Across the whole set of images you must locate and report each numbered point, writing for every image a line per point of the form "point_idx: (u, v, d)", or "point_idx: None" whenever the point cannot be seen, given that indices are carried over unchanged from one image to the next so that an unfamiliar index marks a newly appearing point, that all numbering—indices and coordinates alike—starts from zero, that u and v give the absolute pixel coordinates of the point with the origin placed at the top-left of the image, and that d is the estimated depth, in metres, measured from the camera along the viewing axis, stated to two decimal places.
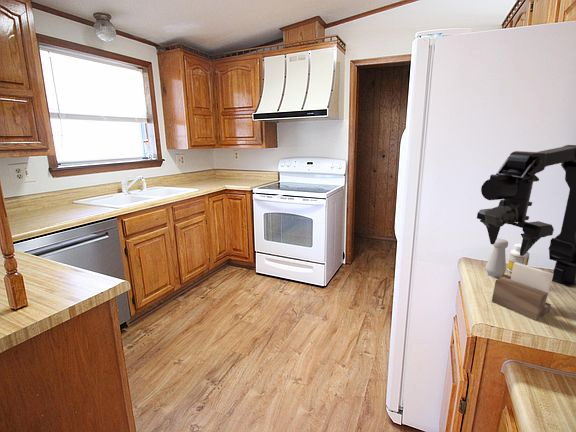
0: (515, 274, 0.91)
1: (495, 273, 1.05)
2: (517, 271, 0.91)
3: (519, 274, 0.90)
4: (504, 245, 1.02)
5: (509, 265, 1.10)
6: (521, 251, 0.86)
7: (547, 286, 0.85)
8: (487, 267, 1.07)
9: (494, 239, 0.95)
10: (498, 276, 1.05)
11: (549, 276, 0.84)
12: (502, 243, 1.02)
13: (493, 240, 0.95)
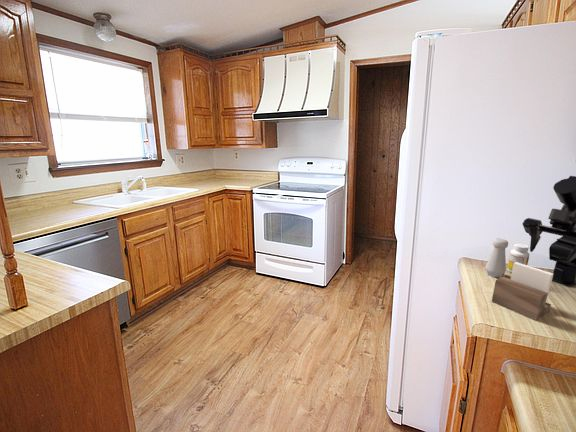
0: (515, 274, 0.91)
1: (495, 273, 1.05)
2: (517, 271, 0.91)
3: (519, 274, 0.90)
4: (504, 245, 1.02)
5: (509, 265, 1.10)
6: (570, 256, 0.88)
7: (547, 286, 0.85)
8: (487, 267, 1.07)
9: (533, 247, 0.96)
10: (498, 276, 1.05)
11: (549, 276, 0.84)
12: (502, 243, 1.02)
13: (533, 248, 0.96)
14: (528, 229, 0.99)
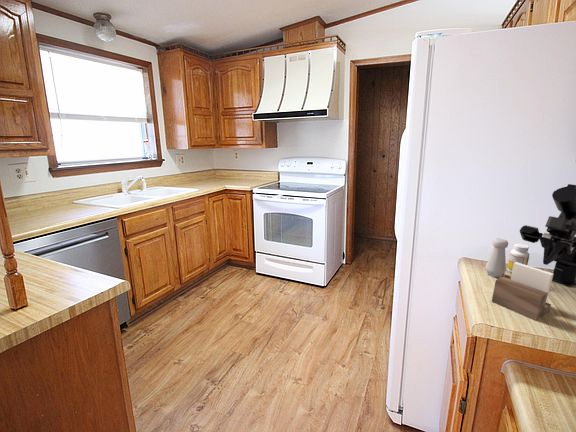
0: (515, 274, 0.91)
1: (495, 273, 1.05)
2: (517, 271, 0.91)
3: (519, 274, 0.90)
4: (504, 245, 1.02)
5: (509, 265, 1.10)
6: (548, 259, 0.92)
7: (547, 286, 0.85)
8: (487, 267, 1.07)
9: None
10: (498, 276, 1.05)
11: (549, 276, 0.84)
12: (502, 243, 1.02)
13: None
14: (541, 240, 0.95)
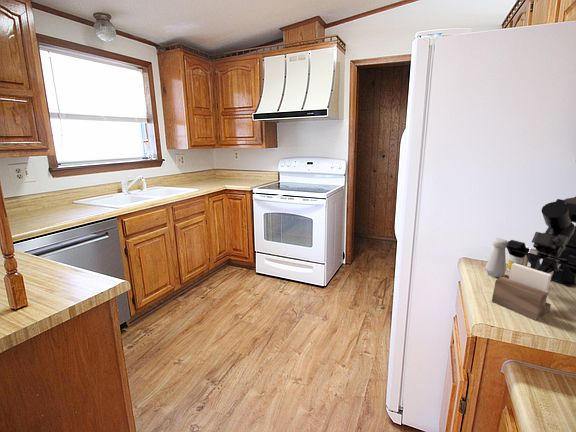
0: (513, 275, 0.91)
1: (495, 273, 1.05)
2: (515, 272, 0.90)
3: (517, 275, 0.90)
4: (504, 245, 1.02)
5: (509, 265, 1.10)
6: None
7: (545, 287, 0.84)
8: (487, 267, 1.07)
9: None
10: (498, 276, 1.05)
11: (547, 277, 0.84)
12: (502, 243, 1.02)
13: None
14: (528, 256, 0.92)
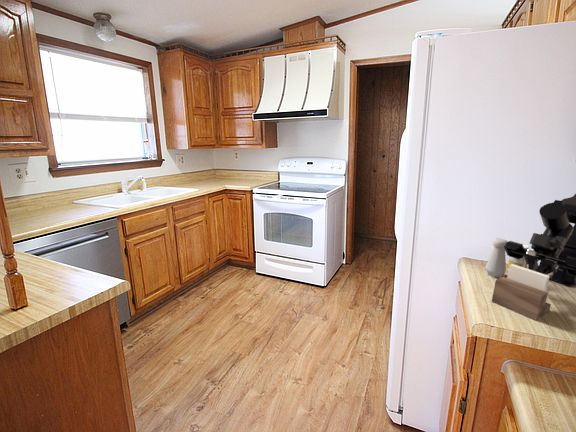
0: (511, 276, 0.90)
1: (495, 273, 1.05)
2: (513, 273, 0.89)
3: (515, 276, 0.89)
4: None
5: (509, 265, 1.10)
6: None
7: (543, 288, 0.84)
8: (487, 267, 1.07)
9: None
10: (498, 276, 1.05)
11: (545, 278, 0.83)
12: (502, 243, 1.02)
13: None
14: (525, 257, 0.92)
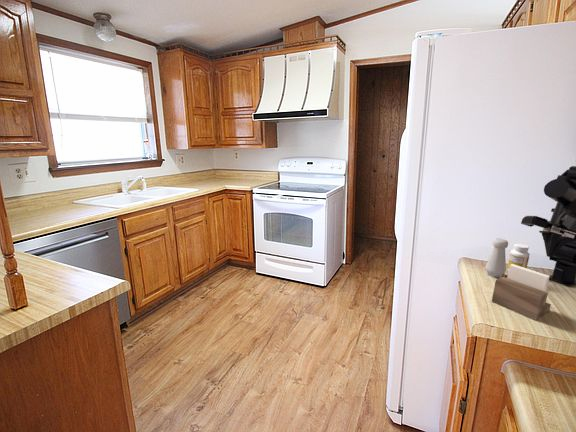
0: (511, 276, 0.90)
1: (495, 273, 1.05)
2: (513, 273, 0.89)
3: (515, 276, 0.89)
4: (504, 245, 1.02)
5: (509, 265, 1.10)
6: (554, 253, 0.93)
7: (543, 288, 0.84)
8: (487, 267, 1.07)
9: None
10: (498, 276, 1.05)
11: (545, 278, 0.83)
12: (502, 243, 1.02)
13: None
14: (548, 233, 0.93)
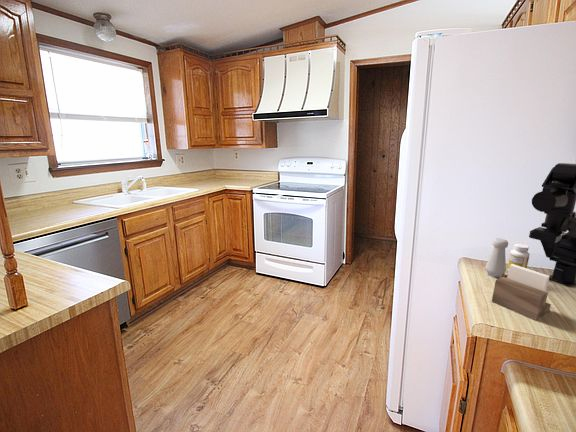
0: (511, 276, 0.90)
1: (495, 273, 1.05)
2: (513, 273, 0.89)
3: (515, 276, 0.89)
4: (504, 245, 1.02)
5: (509, 265, 1.10)
6: (553, 253, 0.94)
7: (543, 288, 0.84)
8: (487, 267, 1.07)
9: None
10: (498, 276, 1.05)
11: (545, 278, 0.83)
12: (502, 243, 1.02)
13: None
14: None
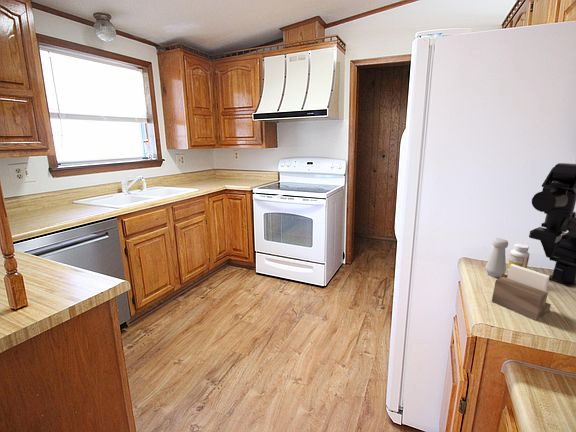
0: (511, 276, 0.90)
1: (495, 273, 1.05)
2: (513, 273, 0.89)
3: (515, 276, 0.89)
4: (504, 245, 1.02)
5: (509, 265, 1.10)
6: (553, 253, 0.94)
7: (543, 288, 0.84)
8: (487, 267, 1.07)
9: None
10: (498, 276, 1.05)
11: (545, 278, 0.83)
12: (502, 243, 1.02)
13: None
14: None
